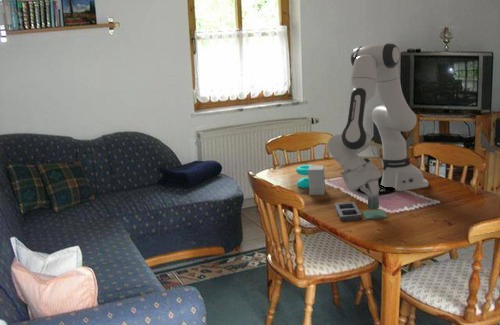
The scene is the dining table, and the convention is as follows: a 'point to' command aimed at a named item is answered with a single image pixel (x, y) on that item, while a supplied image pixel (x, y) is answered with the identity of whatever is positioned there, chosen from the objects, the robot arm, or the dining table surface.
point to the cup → (373, 194)
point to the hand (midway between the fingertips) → (374, 192)
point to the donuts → (303, 171)
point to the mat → (374, 214)
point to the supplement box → (316, 180)
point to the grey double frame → (348, 211)
